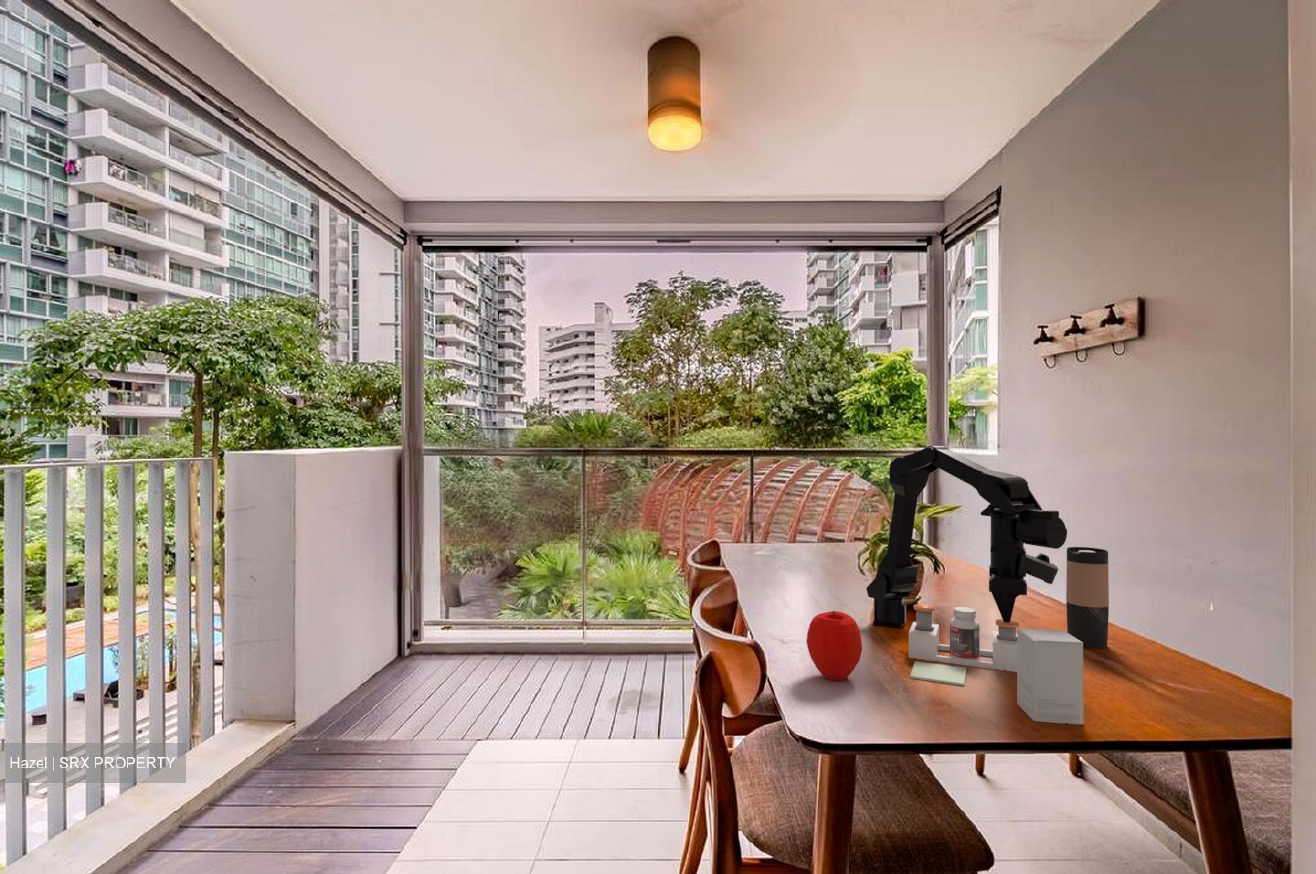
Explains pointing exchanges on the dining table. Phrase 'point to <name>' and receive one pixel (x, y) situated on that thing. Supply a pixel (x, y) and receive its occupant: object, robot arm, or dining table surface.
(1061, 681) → the supplement box
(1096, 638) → the travel mug
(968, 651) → the pill bottle
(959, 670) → the mat
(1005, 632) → the plunger right
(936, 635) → the holder
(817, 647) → the apple
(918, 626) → the plunger left
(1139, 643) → the dining table surface
